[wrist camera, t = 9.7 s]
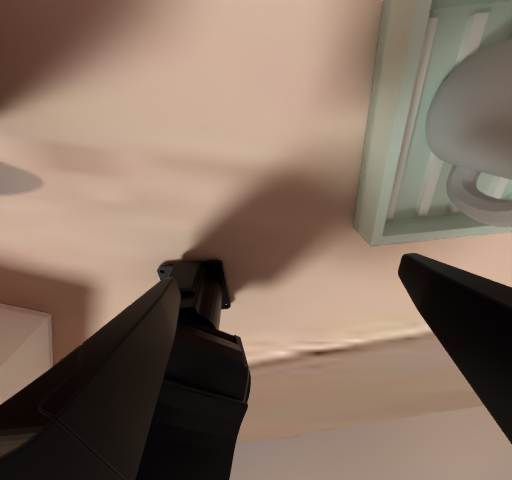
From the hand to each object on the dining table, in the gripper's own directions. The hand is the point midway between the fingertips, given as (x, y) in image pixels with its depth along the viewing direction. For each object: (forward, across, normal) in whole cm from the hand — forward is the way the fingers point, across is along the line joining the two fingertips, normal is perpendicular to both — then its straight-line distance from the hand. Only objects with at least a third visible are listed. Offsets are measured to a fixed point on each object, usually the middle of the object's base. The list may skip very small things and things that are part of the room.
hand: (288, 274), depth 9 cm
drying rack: (+12, -15, -3) cm, 19 cm away
